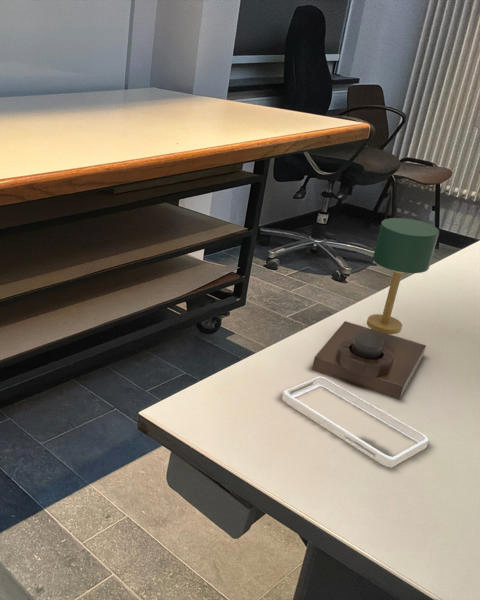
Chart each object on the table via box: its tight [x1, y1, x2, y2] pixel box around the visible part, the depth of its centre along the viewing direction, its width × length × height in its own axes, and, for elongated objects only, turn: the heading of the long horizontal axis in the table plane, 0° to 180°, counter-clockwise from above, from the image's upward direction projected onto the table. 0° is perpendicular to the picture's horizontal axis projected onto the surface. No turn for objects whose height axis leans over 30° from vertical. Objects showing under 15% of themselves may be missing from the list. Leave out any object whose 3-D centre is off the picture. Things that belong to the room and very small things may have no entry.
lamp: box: [366, 217, 440, 335], centre depth 89 cm, size 7×7×14 cm
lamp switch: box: [351, 333, 384, 360], centre depth 86 cm, size 4×4×2 cm
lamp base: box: [311, 320, 427, 401], centre depth 90 cm, size 11×14×4 cm
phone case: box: [281, 375, 430, 469], centre depth 79 cm, size 7×1×15 cm
